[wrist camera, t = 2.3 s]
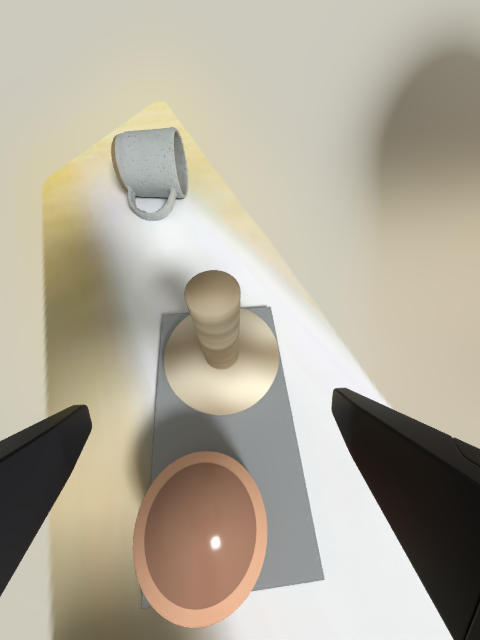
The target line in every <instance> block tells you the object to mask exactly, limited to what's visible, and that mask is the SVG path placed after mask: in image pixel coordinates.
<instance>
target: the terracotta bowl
mask: <svg viewBox="0 0 480 640" xmlns="http://www.w3.org/2000/svg"><path fill="white" fill-rule="evenodd" d="M266 546H267V517H266V512H265V507H264V503H263V499H262V496H261V494H260V492H259V489H258V487H257V485H256V483H255V482H254V480H253V478H252V477H251V475H250V474H249V473H248V471H247V470H246V469H245V468H244V467H243V465H242V464H240V463H239V462H238V461H237V460H236V459H234V458H232V457H231V456H228V455H226V454H223V453H220V452H213V451H202V452H195V453H191V454H188V455H185V456H183V457H181V458H179V459H177V460H176V461H174V462H173V463H171V464H170V465H169V466H168V467H166V468H165V469H164V470H163V471H162V472H161V473H160V474H159V475H158V477H157V478H156V479H155V480H154V482H153V483H152V485H151V486H150V488H149V489H148V491H147V493H146V495H145V497H144V499H143V501H142V503H141V506H140V509H139V512H138V515H137V519H136V523H135V529H134V536H133V558H134V565H135V571H136V575H137V578H138V582H139V584H140V587H141V589H142V591H143V593H144V595H145V597H146V598H147V600H148V602H149V603H150V604H151V606H152V607H153V608H154V609H155V610H156V612H158V613H159V614H160V615H161V616H162V617H164V618H165V619H167V620H168V621H170V622H172V623H174V624H177V625H179V626H182V627H189V628H200V627H206V626H210V625H213V624H215V623H217V622H220V621H222V620H223V619H225V618H226V617H228V616H229V615H231V614H232V613H233V612H234V611H235V610H236V609H237V608H238V607H240V605H241V604H242V603H243V602H244V601H245V599H246V598H247V597H248V595H249V594H250V592H251V590H252V589H253V587H254V585H255V583H256V581H257V579H258V577H259V574H260V571H261V568H262V566H263V562H264V558H265V553H266Z"/></svg>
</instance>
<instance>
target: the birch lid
mask: <svg viewBox="0 0 480 640" xmlns="http://www.w3.org/2000/svg"><path fill="white" fill-rule="evenodd" d="M184 295H185V300H186V303H187V306H188V309H189V312H190V315H189V316H187V317H186V318H185V319H184V320H183V321H181V322H180V323H179V325H178V326H177V327H176V328H175V329H174V331H173V332H172V334H171V336H170V338H169V340H168V342H167V345H166V348H165V353H164V369H165V374H166V377H167V380H168V382H169V384H170V386H171V388H172V390H173V391H174V392H175V394H176V395H177V396H178V397H179V398H180V399H181V400H182V401H183V402H184V403H186V404H187V405H188V406H190V407H191V408H193V409H195V410H197V411H199V412H202V413H205V414H209V415H217V416H222V415H231V414H236V413H239V412H242V411H244V410H246V409H248V408H250V407H252V406H253V405H254V404H256V403H257V402H258V401H259V400H260V399H262V398H263V396H264V395H265V394H266V393H267V392H268V390H269V388H270V387H271V385H272V383H273V381H274V379H275V376H276V374H277V370H278V365H279V351H278V345H277V342H276V339H275V337H274V334H273V333H272V331H271V329H270V328H269V327H268V325H267V324H266V323H265V322H264V321H263V320H262V319H261V318H260V317H258V316H257V315H256V314H254V313H252V312H251V311H249V310H246V309H244V308H241V307H240V286H239V284H238V282H237V281H236V279H235V278H234V277H233V276H231V275H230V274H228V273H226V272H223V271H217V270H210V271H205V272H202V273H199V274H197V275H196V276H194V277H193V278H192V279H191V280H190V281H189V282H188V284H187V285H186V288H185V293H184Z"/></svg>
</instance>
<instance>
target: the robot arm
mask: <svg viewBox="0 0 480 640" xmlns="http://www.w3.org/2000/svg"><path fill="white" fill-rule="evenodd" d="M332 413H333V416H334V418H335V420H336V423H337V425H338V427H339V430H340V432H341V434H342V437H343V439H344V441H345V443H346V446H347V448H348V450H349V452H350V454H351V456H352V458H353V460H354V462H355V463H356V465H357V467H358V469H359V471H360V472H361V474H362V476H363V478H364V480H365V481H366V483H367V485H368V487H369V489H370V490H371V492H372V494H373V496H374V498H375V499H376V501H377V503H378V505H379V507H380V508H381V510H382V512H383V514H384V515H385V517H386V519H387V521H388V523H389V524H390V526H391V528H392V530H393V532H394V533H395V535H396V537H397V539H398V541H399V542H400V544H401V546H402V548H403V550H404V551H405V553H406V555H407V557H408V559H409V560H410V562H411V564H412V566H413V568H414V569H415V571H416V573H417V575H418V576H419V578H420V580H421V582H422V584H423V585H424V587H425V589H426V591H427V593H428V594H429V596H430V598H431V600H432V602H433V603H434V605H435V607H436V609H437V611H438V612H439V614H440V616H441V618H442V620H443V621H444V623H445V625H446V627H447V629H448V630H449V632H450V634H451V636H452V637H453V639H454V640H480V449H479V448H476V447H474V446H472V445H470V444H467V443H465V442H463V441H461V440H459V439H457V438H452V437H451V436H450V435H448V434H445V433H443V432H441V431H439V430H437V429H435V428H432V427H430V426H428V425H426V424H424V423H421V422H419V421H417V420H415V419H412V418H410V417H408V416H406V415H404V414H402V413H399V412H397V411H395V410H393V409H391V408H389V407H386V406H384V405H382V404H380V403H378V402H375V401H373V400H371V399H369V398H367V397H364V396H362V395H360V394H358V393H356V392H354V391H351V390H349V389H347V388H335V389H334V390H333V397H332ZM91 429H92V422H91V418H90V414H89V410H88V407H87V406H86V405H73V406H71V407H69V408H67V409H65V410H63V411H61V412H58V413H56V414H54V415H52V416H50V417H48V418H46V419H44V420H42V421H40V422H38V423H36V424H34V425H32V426H30V427H28V428H26V429H24V430H22V431H20V432H18V433H16V434H14V435H12V436H10V437H8V438H6V439H4V440H2V441H0V596H1V594H2V593H3V591H4V589H5V588H6V586H7V584H8V582H9V581H10V579H11V577H12V575H13V574H14V572H15V570H16V569H17V567H18V565H19V563H20V562H21V560H22V558H23V556H24V555H25V553H26V551H27V550H28V548H29V546H30V544H31V543H32V541H33V539H34V537H35V536H36V534H37V532H38V531H39V529H40V527H41V525H42V524H43V522H44V520H45V518H46V517H47V515H48V513H49V511H50V510H51V508H52V506H53V505H54V503H55V501H56V499H57V498H58V496H59V494H60V492H61V491H62V489H63V487H64V486H65V484H66V482H67V480H68V478H69V477H70V475H71V473H72V471H73V469H74V467H75V464H76V462H77V460H78V458H79V456H80V454H81V452H82V449H83V447H84V445H85V443H86V441H87V439H88V436H89V434H90V432H91Z"/></svg>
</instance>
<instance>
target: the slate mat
mask: <svg viewBox="0 0 480 640" xmlns="http://www.w3.org/2000/svg"><path fill="white" fill-rule="evenodd" d="M246 310H249V311H251V312H252V313H254V314H256V315H257V316H258V317H260V318H261V319H262V320H263V321H264V322H265V323H266V324H267V325H268V327H269V328H270V329H271V331H272V333H273V334H274V337H275V339H276V342H277V337H276V332H275V326H274V321H273V316H272V311H271V307H261V308H248V309H246ZM189 315H190V313H182V314H169V315H162V328H161V342H160V356H159V369H158V383H157V397H156V411H155V425H154V439H153V453H152V467H151V481H150V486H151V485H152V483H153V482H154V480H155V479H156V478H157V477H158V475H159V474H160V473H161V472H162V471H163V470H164V469H165V468H166V467H168V466H169V465H170V464H171V463H173V462H174V461H176V460H177V459H179V458H181V457H183V456H185V455H188V454H191V453H195V452H202V451H213V452H220V453H223V454H226V455H228V456H231V457H232V458H234V459H236V460H237V461H238V462H239V463H240V464H242V465H243V467H244V468H245V469H246V470H247V471H248V473H249V474H250V475H251V477H252V478H253V480H254V482H255V483H256V485H257V487H258V489H259V492H260V494H261V496H262V499H263V503H264V507H265V512H266V517H267V546H266V553H265V558H264V562H263V566H262V568H261V571H260V574H259V577H258V579H257V581H256V583H255V585H254V587H253V589H252V590H251V591H257V590H263V589H270V588H276V587H282V586H289V585H295V584H301V583H308V582H314V581H320V580H324V575H323V570H322V565H321V560H320V554H319V549H318V544H317V539H316V534H315V529H314V524H313V519H312V514H311V509H310V504H309V499H308V494H307V489H306V484H305V478H304V473H303V468H302V463H301V458H300V453H299V448H298V443H297V438H296V433H295V428H294V423H293V418H292V413H291V408H290V402H289V397H288V392H287V387H286V382H285V377H284V372H283V367H282V362H281V357H280V352H279V365H278V370H277V374H276V376H275V379H274V381H273V383H272V385H271V387H270V388H269V390H268V392H267V393H266V394H265V395H264V396H263V398H262V399H260V400H259V401H258V402H257V403H256V404H254V405H253V406H252V407H250V408H248V409H246V410H244V411H242V412H239V413H236V414H231V415H222V416H217V415H209V414H205V413H202V412H199V411H197V410H195V409H193V408H191V407H190V406H188V405H187V404H186V403H184V402H183V401H182V400H181V399H180V398H179V397H178V396H177V395H176V394H175V392H174V391H173V390H172V388H171V386H170V384H169V382H168V380H167V377H166V374H165V369H164V353H165V348H166V345H167V342H168V340H169V338H170V336H171V334H172V332H173V331H174V329H175V328H176V327H177V326H178V325H179V323H180V322H181V321H183V320H184V319H185V318H186V317H187V316H189ZM277 345H278V342H277ZM278 351H279V347H278ZM149 607H152V606H151V604H150V603H149V602H148V600H147V598H146V597H145V595H144V593H143V592H142V606H141V609H143V608H149Z"/></svg>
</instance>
